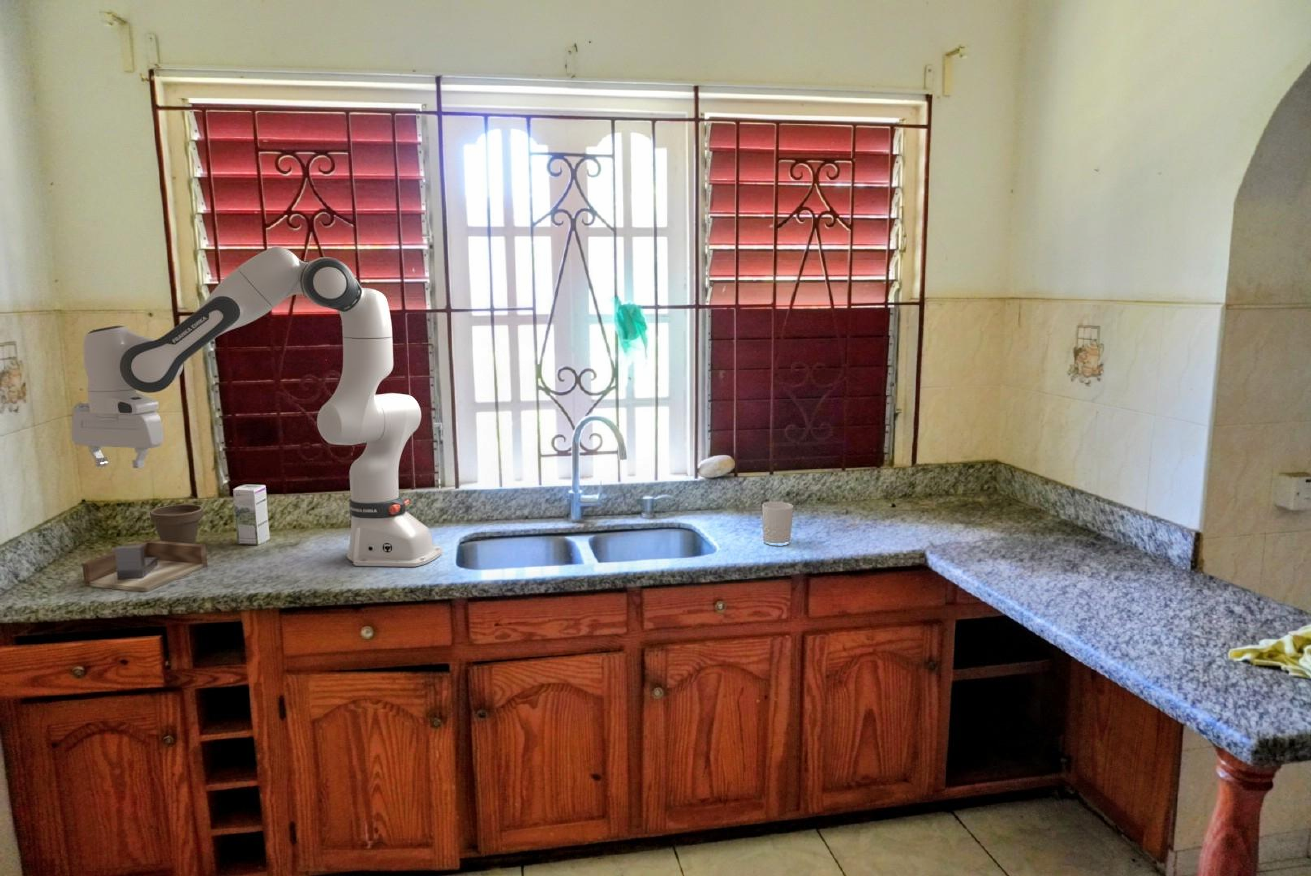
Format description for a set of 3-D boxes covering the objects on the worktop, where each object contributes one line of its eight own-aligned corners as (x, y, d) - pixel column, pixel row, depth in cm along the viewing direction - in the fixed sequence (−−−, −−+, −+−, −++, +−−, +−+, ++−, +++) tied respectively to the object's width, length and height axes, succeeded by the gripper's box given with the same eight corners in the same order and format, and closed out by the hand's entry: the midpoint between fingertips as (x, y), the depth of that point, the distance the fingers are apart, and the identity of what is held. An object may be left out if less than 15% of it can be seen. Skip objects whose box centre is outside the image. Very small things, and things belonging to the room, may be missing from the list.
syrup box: (270, 538, 224) (266, 484, 221) (258, 545, 218) (253, 489, 215) (249, 538, 224) (245, 483, 222) (236, 544, 218) (232, 488, 216)
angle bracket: (142, 578, 190) (139, 547, 189) (117, 579, 189) (114, 548, 188) (157, 565, 199) (154, 535, 198) (134, 566, 198) (131, 537, 197)
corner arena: (207, 565, 202) (205, 544, 201) (147, 591, 185) (145, 569, 184) (149, 560, 206) (147, 540, 205) (84, 585, 188) (82, 563, 188)
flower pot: (209, 539, 222) (206, 501, 221) (202, 552, 212) (198, 512, 210) (159, 543, 219) (155, 505, 217) (148, 557, 208) (144, 516, 206)
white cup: (796, 541, 224) (798, 504, 223) (784, 549, 218) (785, 510, 216) (769, 536, 229) (770, 500, 227) (755, 544, 222) (757, 506, 220)
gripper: (59, 403, 183) (67, 468, 185) (142, 406, 179) (149, 471, 181) (84, 400, 189) (92, 462, 192) (165, 402, 185) (171, 465, 187)
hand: (120, 467), depth 186 cm, fingers open, 8 cm apart
